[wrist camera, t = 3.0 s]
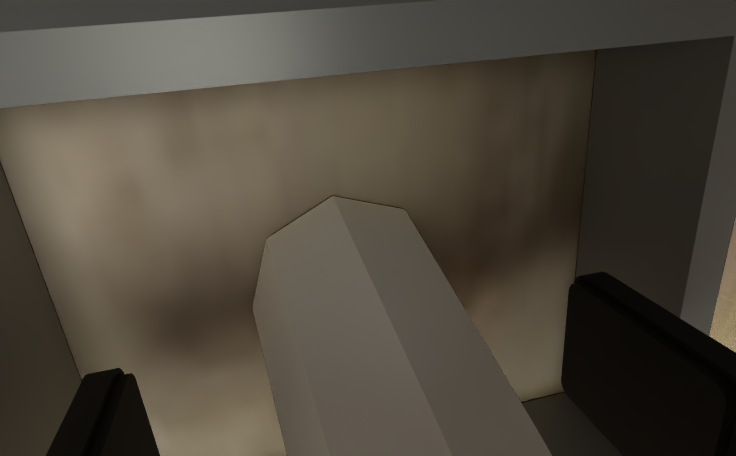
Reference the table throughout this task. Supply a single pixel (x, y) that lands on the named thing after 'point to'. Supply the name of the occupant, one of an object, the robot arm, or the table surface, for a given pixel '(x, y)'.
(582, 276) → the robot arm
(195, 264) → the table surface
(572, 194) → the table surface
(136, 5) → the lid
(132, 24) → the case
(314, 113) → the table surface
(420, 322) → the salt shaker
